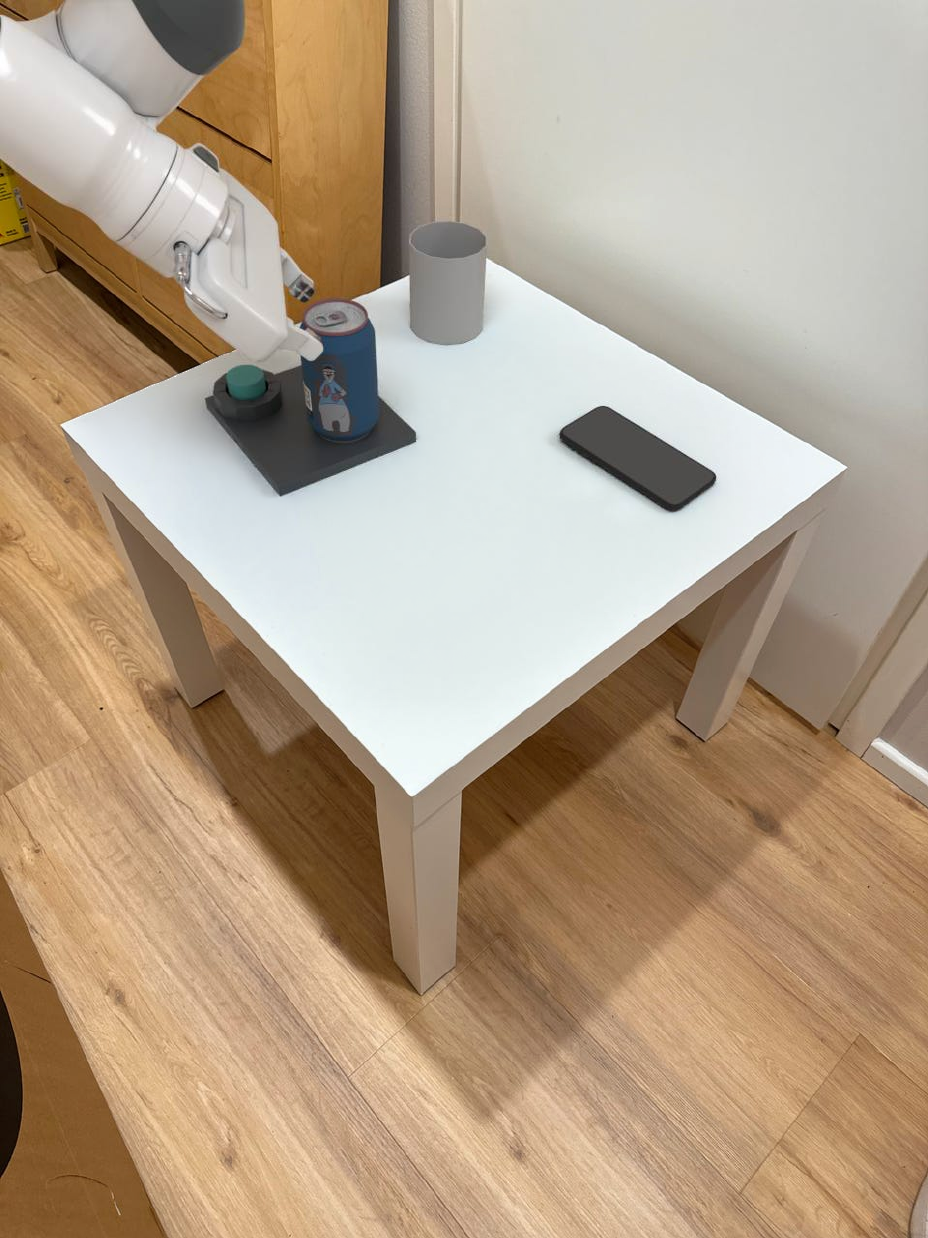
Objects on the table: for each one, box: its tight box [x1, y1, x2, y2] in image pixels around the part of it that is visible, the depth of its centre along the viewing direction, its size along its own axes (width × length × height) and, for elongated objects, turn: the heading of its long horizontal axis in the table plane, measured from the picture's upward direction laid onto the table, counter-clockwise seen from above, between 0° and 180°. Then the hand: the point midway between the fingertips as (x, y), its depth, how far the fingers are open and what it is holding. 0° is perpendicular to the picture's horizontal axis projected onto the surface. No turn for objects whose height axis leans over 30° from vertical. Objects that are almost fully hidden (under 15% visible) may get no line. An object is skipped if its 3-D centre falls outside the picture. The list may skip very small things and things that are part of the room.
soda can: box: [299, 297, 379, 443], centre depth 85 cm, size 7×7×12 cm
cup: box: [408, 220, 488, 346], centre depth 100 cm, size 8×8×10 cm
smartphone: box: [558, 405, 717, 512], centre depth 89 cm, size 7×1×15 cm
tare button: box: [226, 364, 266, 400], centre depth 90 cm, size 4×4×2 cm
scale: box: [204, 364, 417, 497], centre depth 90 cm, size 15×16×3 cm
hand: (314, 321), depth 80 cm, fingers open, 8 cm apart
